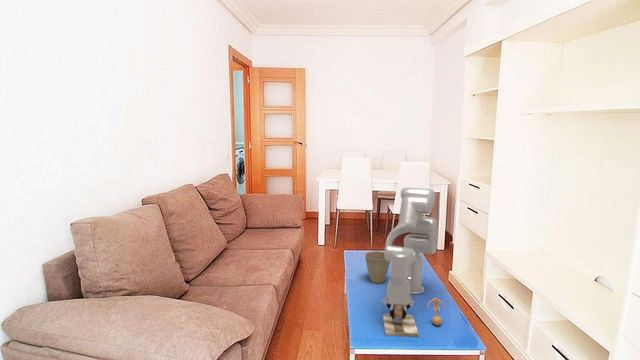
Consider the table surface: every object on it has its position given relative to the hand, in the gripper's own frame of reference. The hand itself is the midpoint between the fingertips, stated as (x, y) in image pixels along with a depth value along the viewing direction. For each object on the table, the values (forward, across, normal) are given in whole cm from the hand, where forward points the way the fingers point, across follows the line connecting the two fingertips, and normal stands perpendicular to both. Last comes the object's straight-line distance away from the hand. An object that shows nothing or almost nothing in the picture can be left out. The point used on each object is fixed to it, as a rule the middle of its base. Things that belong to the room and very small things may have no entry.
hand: (397, 317), depth 163 cm
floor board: (+4, -1, 0) cm, 4 cm away
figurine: (+5, -18, -4) cm, 19 cm away
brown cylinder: (+2, 0, 0) cm, 2 cm away
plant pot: (+5, +6, -50) cm, 50 cm away
